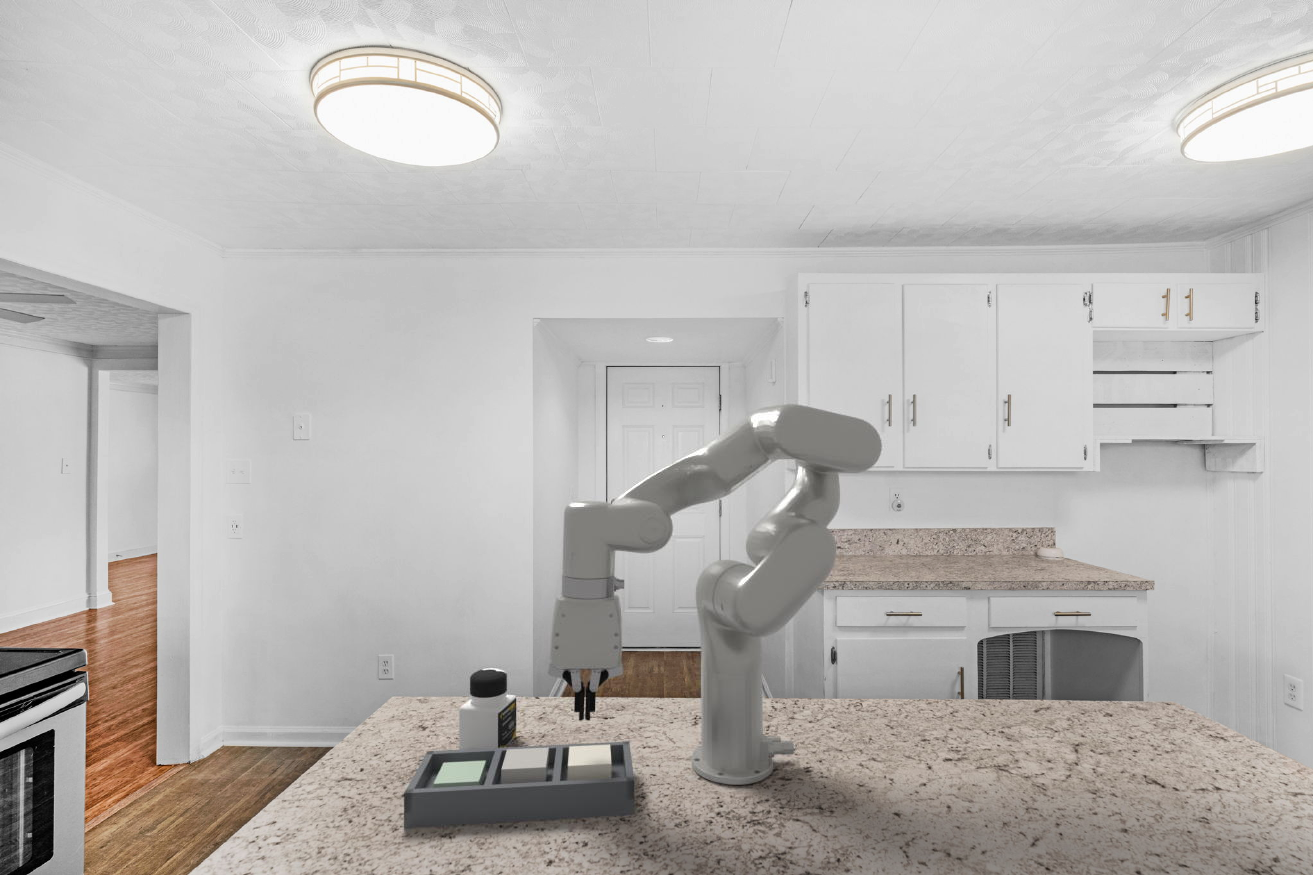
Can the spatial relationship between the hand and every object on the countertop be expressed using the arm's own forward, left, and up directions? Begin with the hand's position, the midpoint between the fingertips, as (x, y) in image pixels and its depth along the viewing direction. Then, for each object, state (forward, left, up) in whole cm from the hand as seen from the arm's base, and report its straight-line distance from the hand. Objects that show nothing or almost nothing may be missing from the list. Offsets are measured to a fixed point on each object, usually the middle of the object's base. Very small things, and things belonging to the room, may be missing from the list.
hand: (584, 716), depth 92 cm
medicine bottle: (+16, -18, -11) cm, 27 cm away
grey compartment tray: (+8, 0, -11) cm, 14 cm away
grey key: (+8, 0, -8) cm, 11 cm away
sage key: (+17, 0, -9) cm, 19 cm away
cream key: (-1, 0, -7) cm, 8 cm away
